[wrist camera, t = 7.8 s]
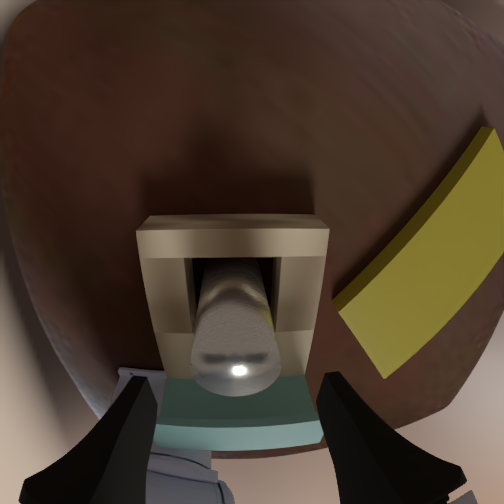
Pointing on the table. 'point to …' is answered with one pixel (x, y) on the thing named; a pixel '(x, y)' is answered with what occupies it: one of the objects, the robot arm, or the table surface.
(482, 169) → the flat olive board
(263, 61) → the table surface
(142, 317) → the table surface
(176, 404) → the teal block
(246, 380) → the peg
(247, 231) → the socket block
